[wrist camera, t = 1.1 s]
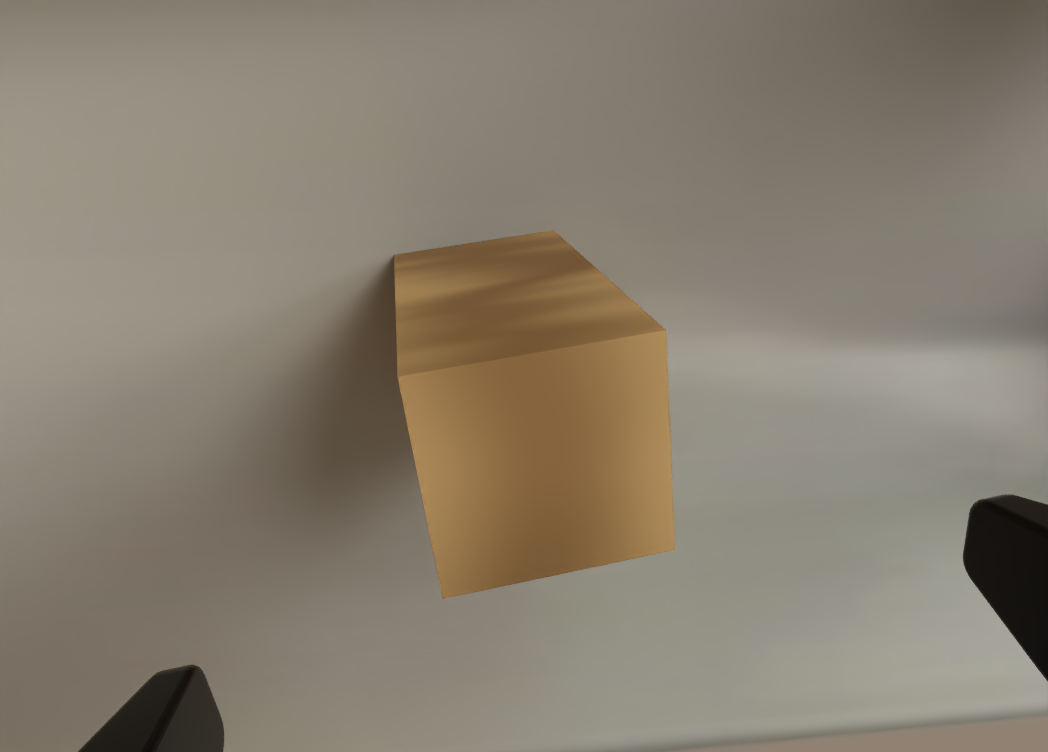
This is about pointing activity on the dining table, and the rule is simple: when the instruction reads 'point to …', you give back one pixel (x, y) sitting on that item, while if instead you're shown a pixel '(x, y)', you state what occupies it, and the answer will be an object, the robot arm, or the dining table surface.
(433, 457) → the wooden block
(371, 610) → the dining table surface
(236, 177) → the dining table surface
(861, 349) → the dining table surface
